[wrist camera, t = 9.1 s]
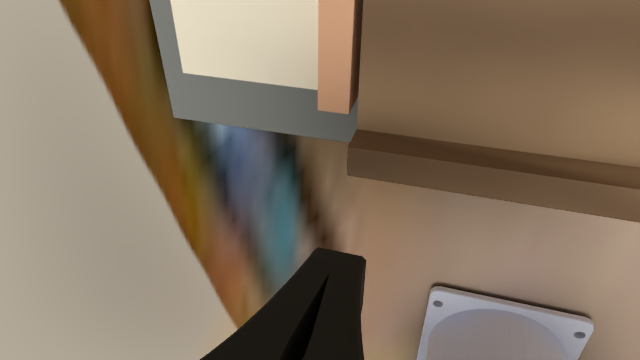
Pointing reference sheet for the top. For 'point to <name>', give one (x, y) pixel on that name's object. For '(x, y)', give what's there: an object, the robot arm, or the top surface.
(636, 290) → the top surface
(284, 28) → the lid
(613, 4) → the walnut box
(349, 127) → the slate mat
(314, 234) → the top surface
